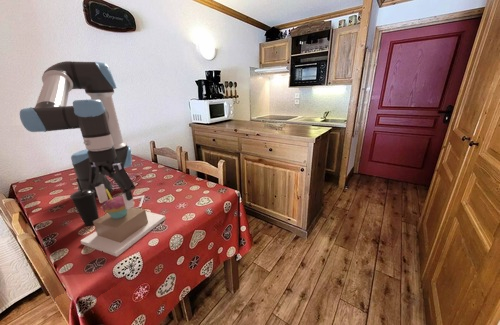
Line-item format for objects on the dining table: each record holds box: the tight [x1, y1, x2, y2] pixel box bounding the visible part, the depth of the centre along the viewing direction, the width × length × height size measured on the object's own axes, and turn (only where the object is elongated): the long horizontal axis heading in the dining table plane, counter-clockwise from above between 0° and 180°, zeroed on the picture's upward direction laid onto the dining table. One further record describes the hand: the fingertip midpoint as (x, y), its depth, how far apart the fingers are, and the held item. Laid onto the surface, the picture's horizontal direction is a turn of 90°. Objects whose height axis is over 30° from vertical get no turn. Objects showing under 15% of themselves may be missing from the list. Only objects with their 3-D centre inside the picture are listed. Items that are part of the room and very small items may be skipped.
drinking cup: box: [69, 177, 100, 227], centre depth 82 cm, size 8×8×20 cm
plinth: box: [80, 206, 167, 257], centre depth 78 cm, size 18×22×8 cm
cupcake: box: [101, 188, 127, 219], centre depth 74 cm, size 9×8×12 cm
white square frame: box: [133, 195, 145, 208], centre depth 98 cm, size 12×12×5 cm
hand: (116, 204), depth 74 cm, fingers open, 13 cm apart
